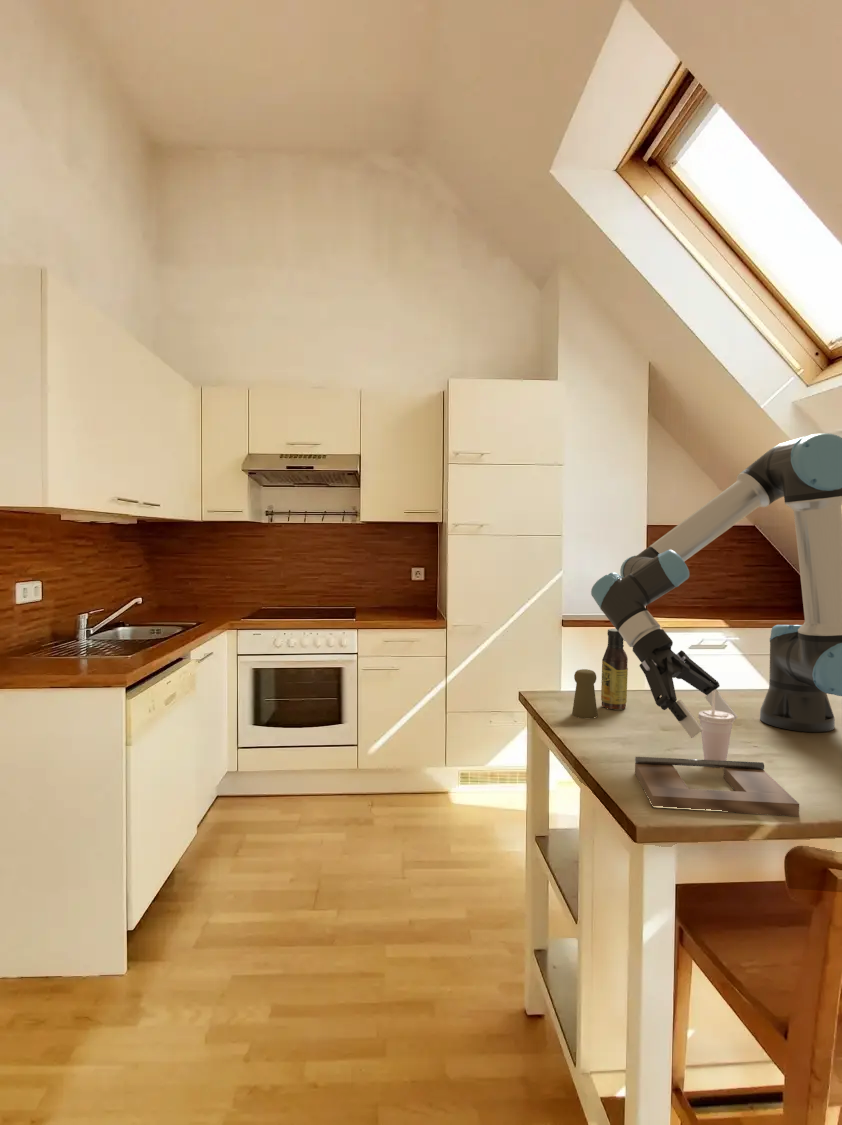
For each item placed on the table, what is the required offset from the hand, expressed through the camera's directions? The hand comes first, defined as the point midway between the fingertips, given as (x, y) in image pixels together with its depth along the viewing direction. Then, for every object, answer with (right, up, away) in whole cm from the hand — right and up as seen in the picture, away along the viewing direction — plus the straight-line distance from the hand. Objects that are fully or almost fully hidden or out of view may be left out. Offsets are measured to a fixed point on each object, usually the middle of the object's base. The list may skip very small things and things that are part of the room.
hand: (715, 727), depth 129 cm
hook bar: (-6, -6, -6) cm, 10 cm away
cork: (-16, -6, +35) cm, 39 cm away
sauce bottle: (-7, -6, +42) cm, 43 cm away
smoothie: (0, -7, +1) cm, 8 cm away
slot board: (-7, -8, -13) cm, 17 cm away
